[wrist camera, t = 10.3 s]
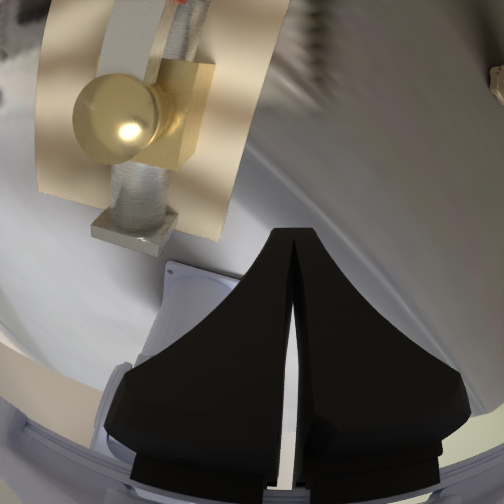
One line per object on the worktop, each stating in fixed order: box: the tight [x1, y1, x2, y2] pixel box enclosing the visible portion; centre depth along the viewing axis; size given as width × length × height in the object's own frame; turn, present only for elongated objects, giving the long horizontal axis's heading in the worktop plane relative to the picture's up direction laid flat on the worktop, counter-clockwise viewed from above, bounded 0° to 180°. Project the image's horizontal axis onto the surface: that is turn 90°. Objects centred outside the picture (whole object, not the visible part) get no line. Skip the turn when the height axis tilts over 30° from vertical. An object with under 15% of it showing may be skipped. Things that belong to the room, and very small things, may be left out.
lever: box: [72, 0, 187, 165], centre depth 8 cm, size 15×4×2 cm, turn 163°
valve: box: [91, 0, 216, 257], centre depth 14 cm, size 18×6×4 cm, turn 165°
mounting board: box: [35, 0, 291, 242], centre depth 15 cm, size 22×18×1 cm
